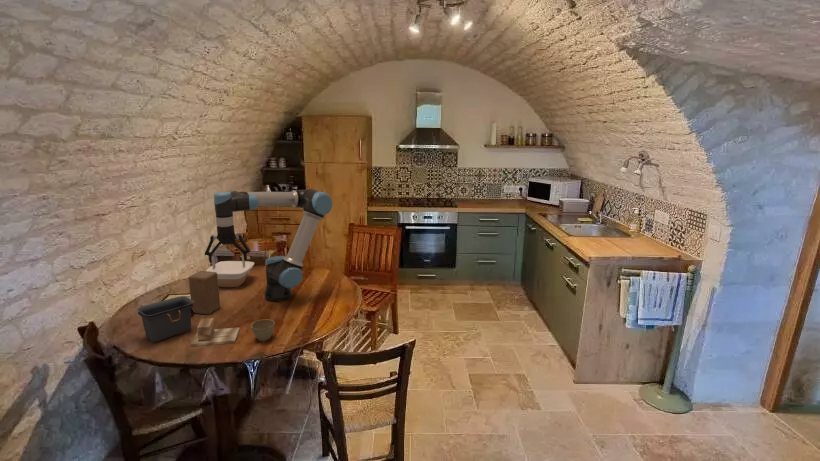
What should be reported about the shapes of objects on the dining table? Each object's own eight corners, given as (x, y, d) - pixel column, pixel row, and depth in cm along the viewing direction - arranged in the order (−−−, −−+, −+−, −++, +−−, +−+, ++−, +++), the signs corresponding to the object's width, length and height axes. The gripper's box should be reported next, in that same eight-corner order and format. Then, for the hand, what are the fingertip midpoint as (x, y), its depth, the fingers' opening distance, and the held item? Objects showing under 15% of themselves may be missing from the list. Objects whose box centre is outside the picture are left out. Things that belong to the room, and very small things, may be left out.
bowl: (244, 291, 250) (243, 274, 248) (202, 290, 251) (200, 273, 248) (258, 277, 274) (257, 261, 271) (220, 276, 274) (218, 260, 271)
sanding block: (214, 331, 199) (213, 318, 198) (210, 340, 191) (209, 326, 189) (202, 332, 198) (201, 319, 196) (198, 341, 189) (196, 327, 188)
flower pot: (255, 333, 200) (254, 319, 198) (277, 333, 201) (276, 318, 199) (249, 344, 190) (248, 329, 189) (272, 343, 191) (271, 328, 190)
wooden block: (208, 315, 218) (205, 278, 213) (191, 313, 220) (187, 276, 215) (221, 307, 228) (217, 271, 223) (204, 305, 230) (200, 270, 225)
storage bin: (186, 321, 211) (183, 294, 207) (201, 331, 202) (199, 302, 198) (138, 337, 194) (134, 308, 191) (153, 348, 185) (148, 317, 182)
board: (239, 329, 204) (239, 327, 203) (235, 342, 191) (234, 340, 191) (198, 332, 200) (198, 330, 199) (191, 346, 187) (190, 344, 187)
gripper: (253, 222, 211) (257, 263, 216) (198, 224, 205) (203, 266, 210) (252, 225, 203) (255, 268, 209) (194, 228, 198) (199, 271, 203)
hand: (229, 267), depth 209 cm, fingers open, 13 cm apart
